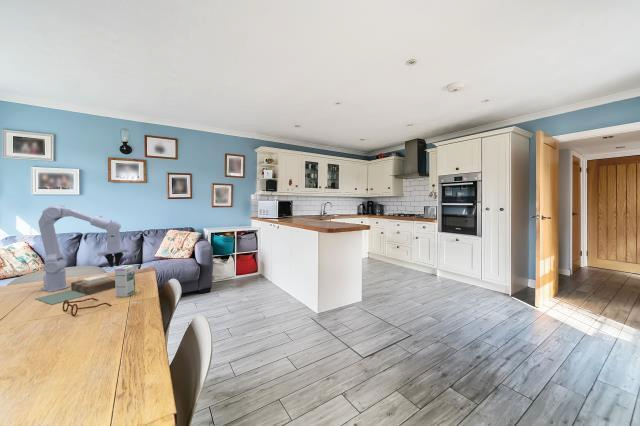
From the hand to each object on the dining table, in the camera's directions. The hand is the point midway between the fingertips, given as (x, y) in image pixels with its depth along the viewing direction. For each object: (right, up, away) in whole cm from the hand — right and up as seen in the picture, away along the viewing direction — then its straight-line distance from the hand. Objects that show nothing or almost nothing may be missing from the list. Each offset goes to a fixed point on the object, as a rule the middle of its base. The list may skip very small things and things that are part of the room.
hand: (114, 266), depth 148 cm
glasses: (+15, -12, -34) cm, 39 cm away
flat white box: (-2, -6, -10) cm, 12 cm away
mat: (-8, -10, -22) cm, 26 cm away
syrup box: (+20, -11, -18) cm, 29 cm away
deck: (-3, -10, -10) cm, 15 cm away
